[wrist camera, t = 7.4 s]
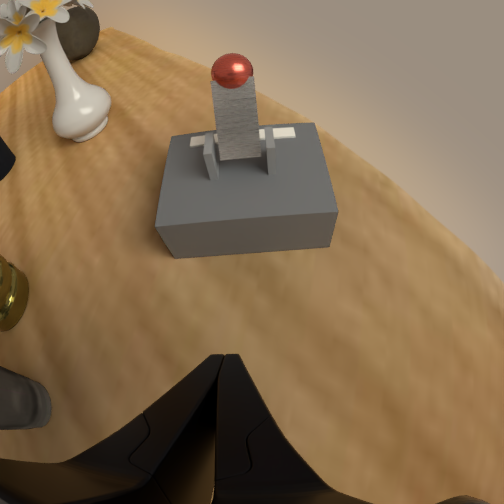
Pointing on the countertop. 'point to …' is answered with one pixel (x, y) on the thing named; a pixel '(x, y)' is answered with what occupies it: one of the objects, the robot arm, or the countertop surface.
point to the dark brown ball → (78, 32)
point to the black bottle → (5, 159)
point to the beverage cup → (22, 402)
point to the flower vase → (54, 64)
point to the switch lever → (235, 107)
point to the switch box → (246, 195)
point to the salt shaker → (11, 294)
